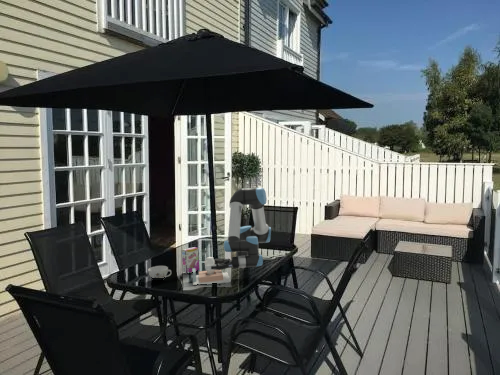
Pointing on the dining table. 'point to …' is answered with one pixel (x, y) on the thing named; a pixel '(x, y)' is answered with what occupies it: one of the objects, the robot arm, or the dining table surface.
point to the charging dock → (225, 276)
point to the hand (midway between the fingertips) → (205, 265)
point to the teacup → (159, 272)
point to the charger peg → (210, 262)
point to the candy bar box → (190, 259)
